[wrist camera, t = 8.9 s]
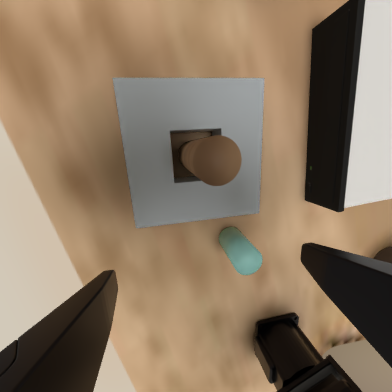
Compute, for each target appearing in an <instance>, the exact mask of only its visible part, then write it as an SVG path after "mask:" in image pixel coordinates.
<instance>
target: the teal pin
mask: <svg viewBox="0 0 392 392" xmlns="http://www.w3.org/2000/svg"><path fill="white" fill-rule="evenodd" d="M219 243H220V245H221V246H222V248H223V249H224V251H225V253H226V254H227V256H228V258H229V259H230V261H231V263H232V264H233V266H234V267H235V269H236V271H237V272H238V273H240V274H242V275H250V274H253V273H254V272H256V271H257V270H258V269H259V268H260V266H261V264H262V255H261V253H260V252H259V251H258V250H257V249H256V248H255V247H254V246H253V245H252V244H251V243H250V242H249V240H248V239H247V238H246V237H245V236H244V235H243V234H242V233H241V232H240V231H239V230H238V229H237V228H235V227H228V228H225V229H224V230H223V231H222V232H221V233H220V235H219Z"/></svg>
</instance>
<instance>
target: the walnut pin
mask: <svg viewBox="0 0 392 392" xmlns="http://www.w3.org/2000/svg"><path fill="white" fill-rule="evenodd" d="M179 160H180V162H181V164H182V165H183V166H184V167H186V168H187V169H188V170H189V171H190V172H192V173H193V174H194V175H195V176H197V177H198V178H199V179H200V180H201V181H203V182H204V183H206V184H208V185H211V186H222V185H225V184H227V183H229V182H230V181H232V180H233V179H234V178H235V177H236V175H237V174H238V172H239V170H240V167H241V162H242V157H241V152H240V149H239V147H238V146H237V144H236V143H235V142H234V141H233V140H232V139H230V138H228V137H226V136H221V135H216V136H211V137H206V138H201V139H197V140H192V141H188V142H186V143H184V144H183V145H182V146H181V148H180V150H179Z"/></svg>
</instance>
